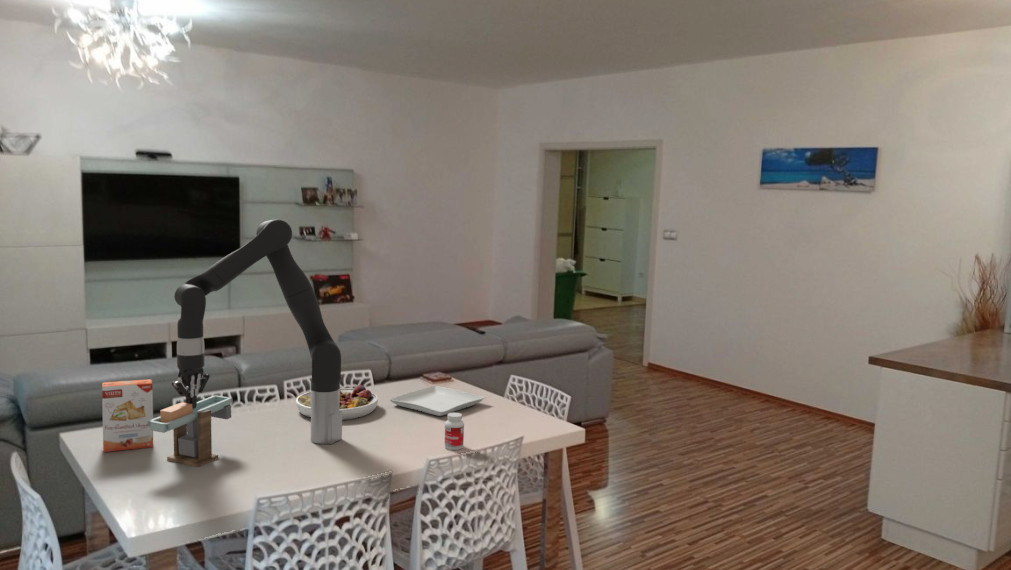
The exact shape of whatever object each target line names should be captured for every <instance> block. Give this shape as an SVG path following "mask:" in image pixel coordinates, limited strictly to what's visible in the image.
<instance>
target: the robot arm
mask: <svg viewBox="0 0 1011 570" xmlns="http://www.w3.org/2000/svg"><path fill="white" fill-rule="evenodd" d="M255 234H256V235H255V236H254V237H253V238H252V239H251V240H249V241H248V242H247V243H245V244H244V245H242V246H241V247H239V248H238V249H236V250H234V251H232V252H231V253H229V254H227V255H226V256H224V257H222V258H221V259H219V260H217V261H216V262H215V263H214V264H212V265H211V266H210V267H208V268H206V269H205V270H204V271H203V272H202V273H200V274H197V275H195V276H194V277H192V278H190V279H188V280H186V281H185V282H183V283H182V284H181V285H179V286H178V287H177V289H176V290H175V292H174V296H173V297H174V300H175V303H176V304H177V305H178V306H180V318H179V319H177V341H176V367H177V369H178V373H177V377H178V378H177V379H176V380H175V381H172V382H171V386H172V387H173V388H174V389H175V391H176V392H177V393H178V394H179V396H181V397H185V403H189V404H192V409H195V408H196V406H197V402H198V401H197V400H198V397H197V396H198V395H199V394H202V393H203V391H204V389H205V387H206V385H207V384H208V381H209V379H210V377H211V375H210V374H207V373H205V370H204V367H205V364H206V363H205V361H206V359H205V358H206V357H205V355H206V354H205V339H204V319H205V312H206V308H207V307H206V306H207V299H206V298H207V297H206V296H208V295H209V294H211V293H213V292H218V291H220V290H221V289H223V288H224V287H226V286H227V285H229V284H230V283H231V282H232V281H233V280H235V279H236V278H237V277H239V276H240V275H241V274H243V273H244V272H245V271H246V270H248V269H250V267H252V266H253V265H254V264H256V263H257V262H259V261H260V260H262V259H263V258H267V260H268V262H269V263H270V265H271V267H272V270H273V272H274V276H275V278H276V280H277V283H278V286H279V288H280V289H281V292H282V295H283V297H284V300H285V303H286V304H287V307H288V309H289V311H290V312H291V314H292V316H293V318H294V319H295V321H296V323H297V324H298V326H299V328H300V329H301V330H302V333H303V335H304V338H305V342H306V345H307V347H308V351H309V355H310V358H311V381H310V392H311V418H310V441H311V443H314V444H319V445H321V444H324V445H326V444H327V445H333V444H334V443H336V442H338V441H340V440H342V439H343V420H342V411H340V388H341V379H342V377H341V376H342V375H341V374H342V353H341V350H340V348H339V346H338V345H337V343H336V342H335V341H334V339H333V338H332V336H331V334H330V332H329V330H328V328H327V326H326V324H325V322H324V319H323V314H322V311H321V307H320V304H319V301H318V298H317V295H316V293H315V290H314V288H313V286H312V283H311V282H310V280H309V278H308V276H307V275H306V274H305V272H304V271H303V270H302V269H301V267H300V266H299V264H298V263H297V262H296V261H295V258H294V256H293V254H292V253H291V250H290V248H289V243H290V242H291V241H292V237H293V230H292V227H291V225H290V224H289V223H288V222H286V221H284V220H282V219H275V218H274V219H269V220H266V221H263V222H261V223H260V224H259V226H258V227H257V229H256V233H255Z"/></svg>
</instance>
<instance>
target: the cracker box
mask: <svg viewBox="0 0 1011 570" xmlns="http://www.w3.org/2000/svg"><path fill="white" fill-rule="evenodd" d="M153 388H154V387H153V380H152V379H151V378H149V379H138V380H137V379H136V380H135V379H134V380H133V379H132V380H121V381H119V380H118V381H106V382H102V383H101V393H102V394H101V395H102V397H101V398H102V399H101V400H102V404H101V405H102V406H101V407H102V449H103V451H102V452H103V453H107V452H116V451H129V450H136V449H146V448H154V431H152V430H151V427H148V421H149V420H152V419H154V404H153V403H154V402H153V401H154V400H153V399H154V398H153V396H154V395H153V393H154V392H153Z"/></svg>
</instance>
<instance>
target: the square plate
mask: <svg viewBox="0 0 1011 570" xmlns="http://www.w3.org/2000/svg"><path fill="white" fill-rule="evenodd" d="M484 399H486V397H485V396H482V395H479V394H474V393H472V392H467V391H465V390H464V391H463V390H460V389H459V390H458V389H456V388H449V387H444V386H439V385H431V386H428V387H424V388H420V389H417V390H413V391H410V392H406V393H402V394H400V395H397V396H395V397H391V398H389V401H390V402H391V403H393V404H395V405H396V406H399V407H402V408H403V407H404V408H407V409H411V410H413V409H414V411H417V410H418V411H417V412H421V411H422V413H426V414H430V415H433V416H434V415H435V416H436V417H437V416H439V417H443V416H445V415H446V416H447V415H448V414H449V413H456V412H458V411H461V410H463V409H465V408H466V407H467V408H469V407H472V406H474V405H477V404H479V403H481V402H483V400H484Z"/></svg>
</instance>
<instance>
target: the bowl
mask: <svg viewBox="0 0 1011 570" xmlns="http://www.w3.org/2000/svg"><path fill="white" fill-rule="evenodd" d="M295 404H296V405H295V406H296V408H297V410H298V412H299V413H301V414H302V415H303V416H305V417H306V418H307V417H308V418H310V417H311V391H308V392H304V393H302V394H299V396H297V398H295ZM378 404H379V397H378V395H377V394H376V393H374V392H372V391H370V390H369V389H367V388H366V386H364V385H363V384H358V385H356V386H355V387H354V388H349V387H348V388H346V387H345V388H343V387H342V388H341V387H340V411H342V421H347V420H353V419H358V417H359V418H361V417H364V416H367V415H369V414H370V413H372V412H373V411H374V410H375V409H376V408H377V405H378Z"/></svg>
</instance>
